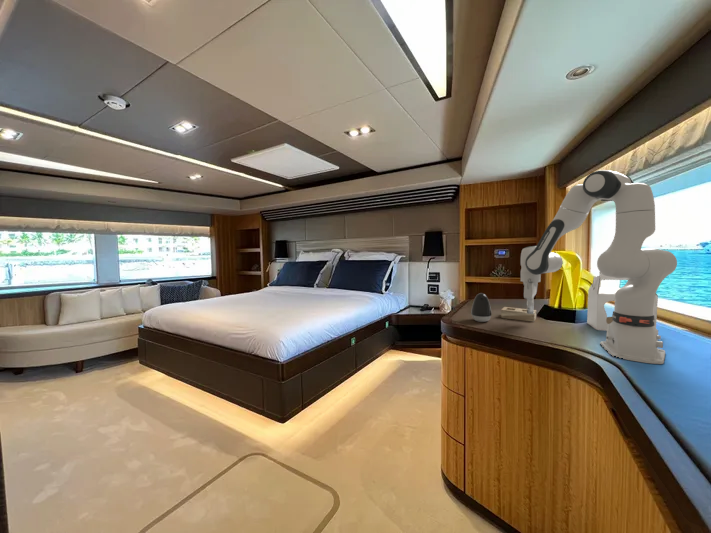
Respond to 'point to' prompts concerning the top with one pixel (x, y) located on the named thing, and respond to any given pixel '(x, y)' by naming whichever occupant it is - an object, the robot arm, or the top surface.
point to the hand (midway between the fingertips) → (530, 305)
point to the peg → (530, 307)
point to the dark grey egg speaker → (481, 308)
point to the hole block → (517, 314)
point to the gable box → (599, 298)
